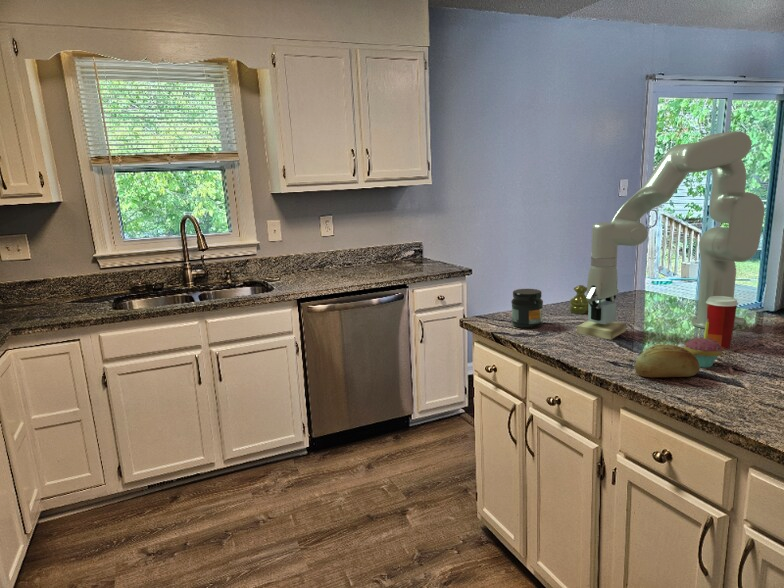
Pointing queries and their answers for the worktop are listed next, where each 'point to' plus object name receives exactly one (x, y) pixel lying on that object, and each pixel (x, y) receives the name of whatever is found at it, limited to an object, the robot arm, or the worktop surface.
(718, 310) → the paper cup
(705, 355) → the cupcake
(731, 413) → the worktop surface
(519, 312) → the supplement container
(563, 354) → the worktop surface
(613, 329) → the maple slab
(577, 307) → the olive pawn figure
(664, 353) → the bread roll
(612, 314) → the blue cube
